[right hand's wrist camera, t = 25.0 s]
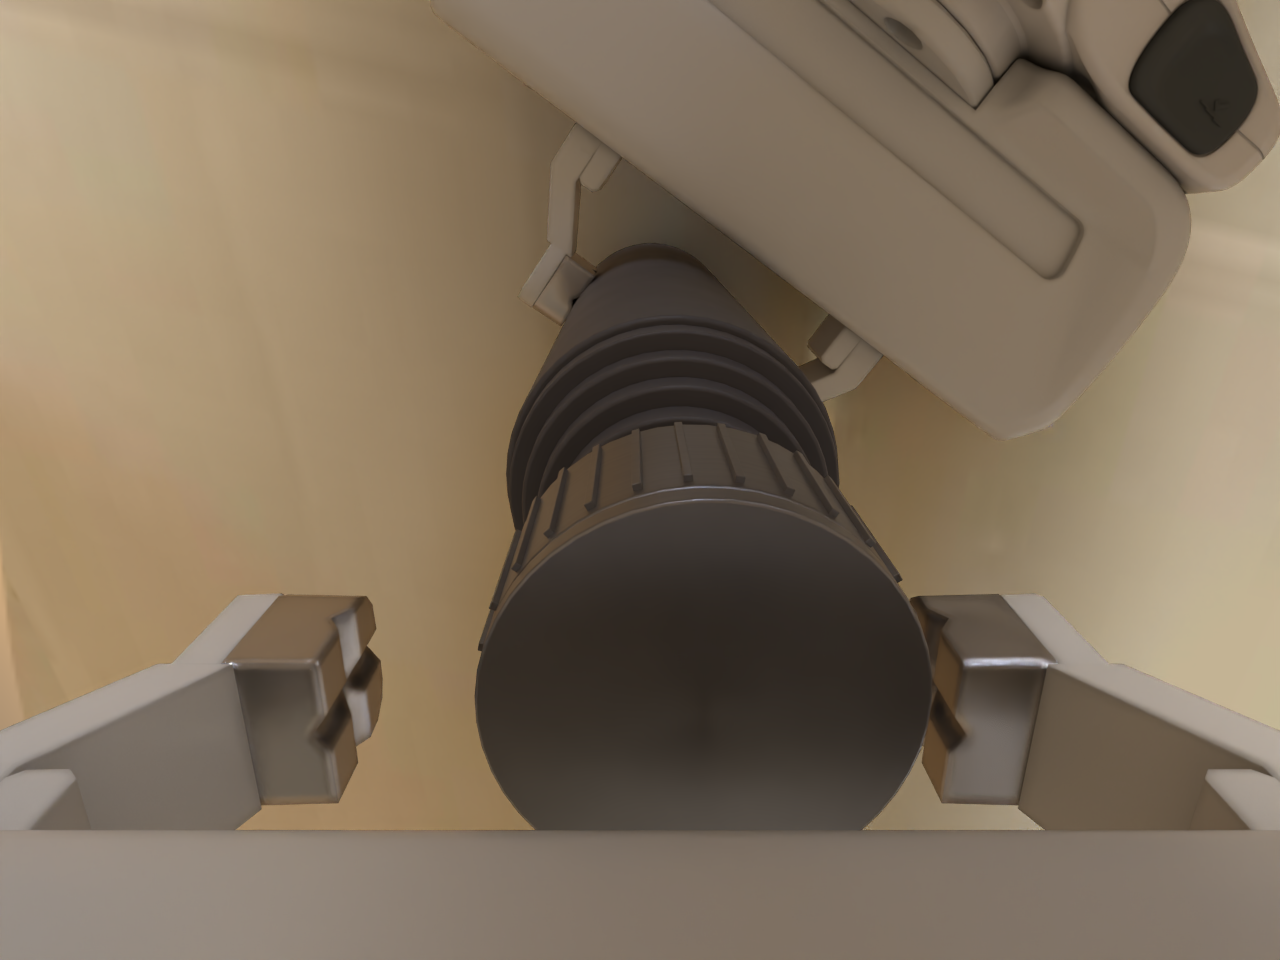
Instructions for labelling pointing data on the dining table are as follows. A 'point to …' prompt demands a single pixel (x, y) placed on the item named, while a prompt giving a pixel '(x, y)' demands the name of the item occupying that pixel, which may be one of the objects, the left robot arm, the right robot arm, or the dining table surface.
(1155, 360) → the dining table surface
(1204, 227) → the dining table surface
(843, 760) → the cap
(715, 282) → the bottle
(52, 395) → the dining table surface
